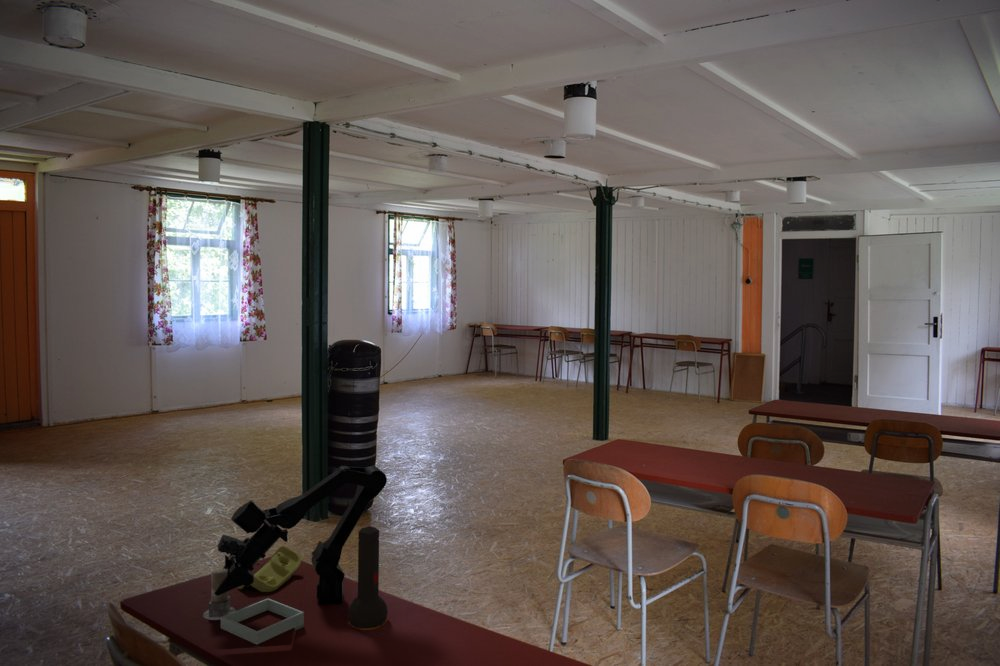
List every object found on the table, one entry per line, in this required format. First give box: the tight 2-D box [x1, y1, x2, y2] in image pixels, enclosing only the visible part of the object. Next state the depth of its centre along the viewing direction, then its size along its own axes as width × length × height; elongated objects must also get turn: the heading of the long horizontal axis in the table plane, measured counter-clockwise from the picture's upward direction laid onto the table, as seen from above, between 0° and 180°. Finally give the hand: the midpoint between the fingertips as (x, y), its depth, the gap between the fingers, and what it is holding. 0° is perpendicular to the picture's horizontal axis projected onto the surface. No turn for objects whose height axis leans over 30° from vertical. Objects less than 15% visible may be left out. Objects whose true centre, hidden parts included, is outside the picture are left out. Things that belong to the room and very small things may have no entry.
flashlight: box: [347, 525, 388, 630], centre depth 187 cm, size 10×25×10 cm
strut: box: [208, 568, 231, 617], centre depth 188 cm, size 4×4×11 cm
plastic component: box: [237, 545, 302, 593], centre depth 212 cm, size 20×7×10 cm
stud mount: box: [202, 606, 237, 621], centre depth 188 cm, size 8×8×4 cm
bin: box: [220, 597, 305, 649], centre depth 182 cm, size 14×14×4 cm
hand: (215, 590), depth 188 cm, fingers open, 5 cm apart
